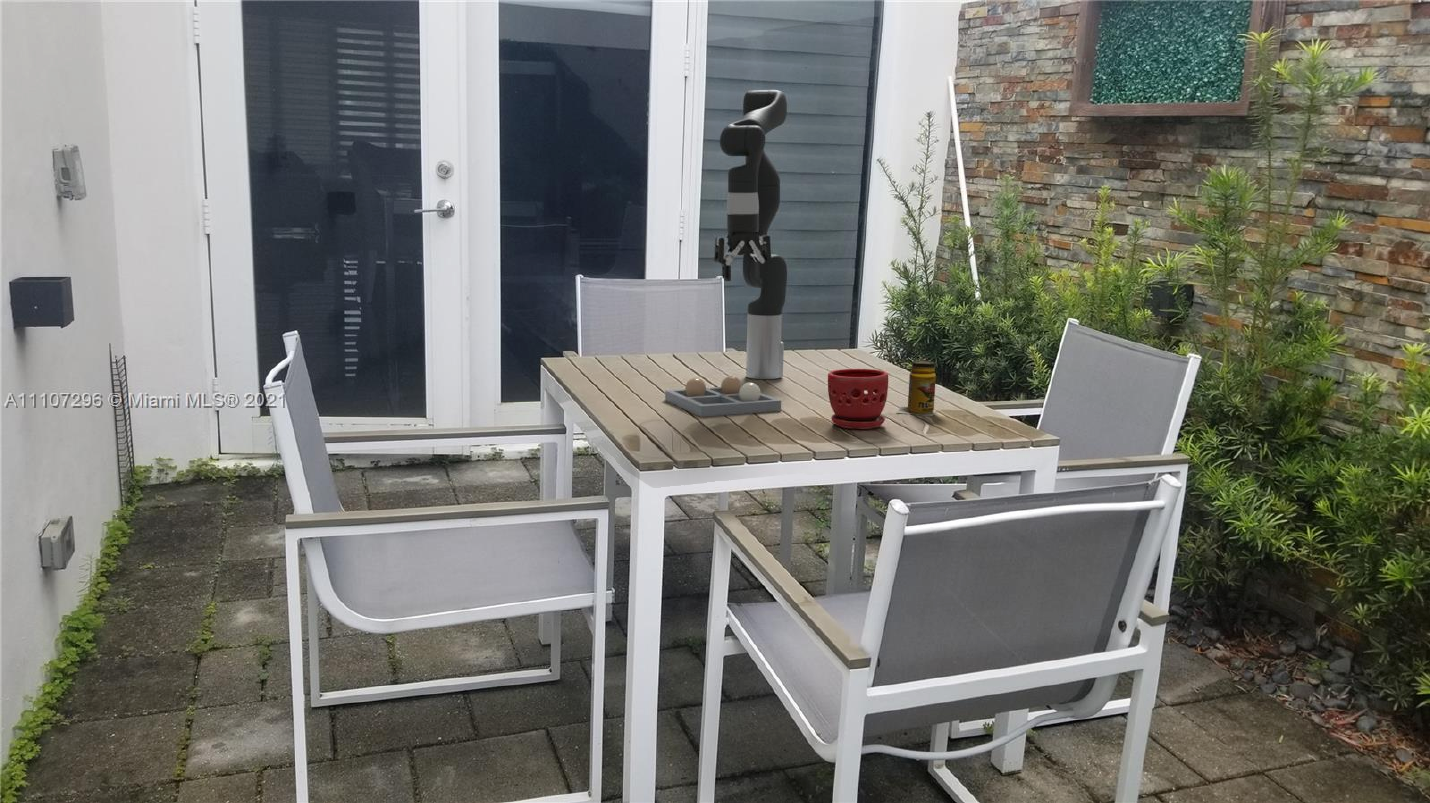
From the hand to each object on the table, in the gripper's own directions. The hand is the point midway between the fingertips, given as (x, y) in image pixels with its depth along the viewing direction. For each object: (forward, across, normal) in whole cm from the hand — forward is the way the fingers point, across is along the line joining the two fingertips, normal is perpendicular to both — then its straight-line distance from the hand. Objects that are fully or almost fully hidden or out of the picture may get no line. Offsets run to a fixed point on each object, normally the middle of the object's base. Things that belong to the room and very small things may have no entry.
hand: (742, 279), depth 270 cm
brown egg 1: (+25, +15, +4) cm, 29 cm away
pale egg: (+25, +6, +14) cm, 29 cm away
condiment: (+30, -29, +32) cm, 52 cm away
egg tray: (+28, +10, +9) cm, 31 cm away
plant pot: (+29, -7, +39) cm, 49 cm away
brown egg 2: (+25, +5, +4) cm, 26 cm away
